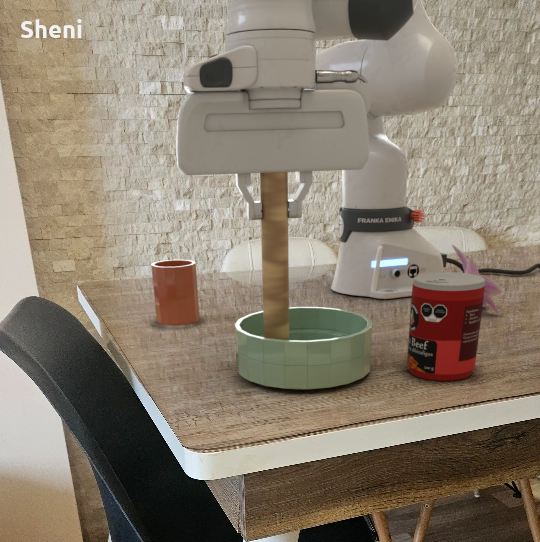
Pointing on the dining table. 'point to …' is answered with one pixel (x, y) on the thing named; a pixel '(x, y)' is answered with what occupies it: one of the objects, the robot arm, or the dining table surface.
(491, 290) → the lily
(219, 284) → the dining table surface
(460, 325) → the canned food
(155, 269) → the holder
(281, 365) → the bowl
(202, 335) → the dining table surface
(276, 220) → the stick
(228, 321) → the dining table surface
